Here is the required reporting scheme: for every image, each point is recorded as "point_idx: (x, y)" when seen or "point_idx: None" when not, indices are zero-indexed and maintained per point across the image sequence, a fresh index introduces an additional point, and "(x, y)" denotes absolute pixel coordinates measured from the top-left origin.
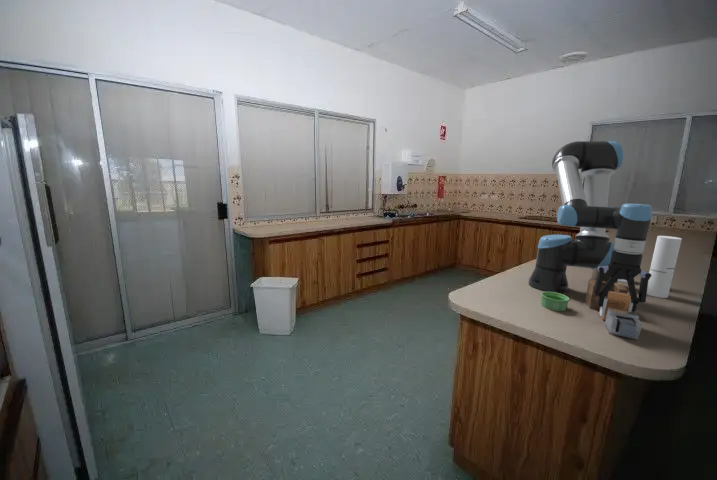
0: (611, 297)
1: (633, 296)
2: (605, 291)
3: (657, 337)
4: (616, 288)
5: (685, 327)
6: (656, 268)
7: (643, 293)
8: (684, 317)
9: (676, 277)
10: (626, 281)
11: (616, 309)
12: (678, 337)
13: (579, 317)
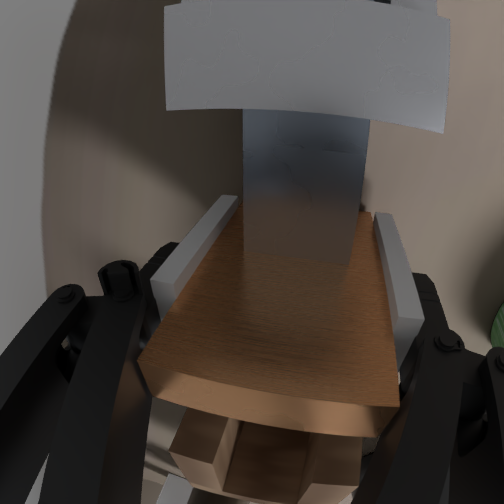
0: (353, 347)
1: (117, 343)
2: (444, 405)
3: (124, 80)
4: (221, 469)
5: (48, 270)
6: None
7: (22, 356)
8: (63, 342)
9: None
10: (176, 478)
11: (360, 114)
12: (57, 147)
13: (495, 207)
